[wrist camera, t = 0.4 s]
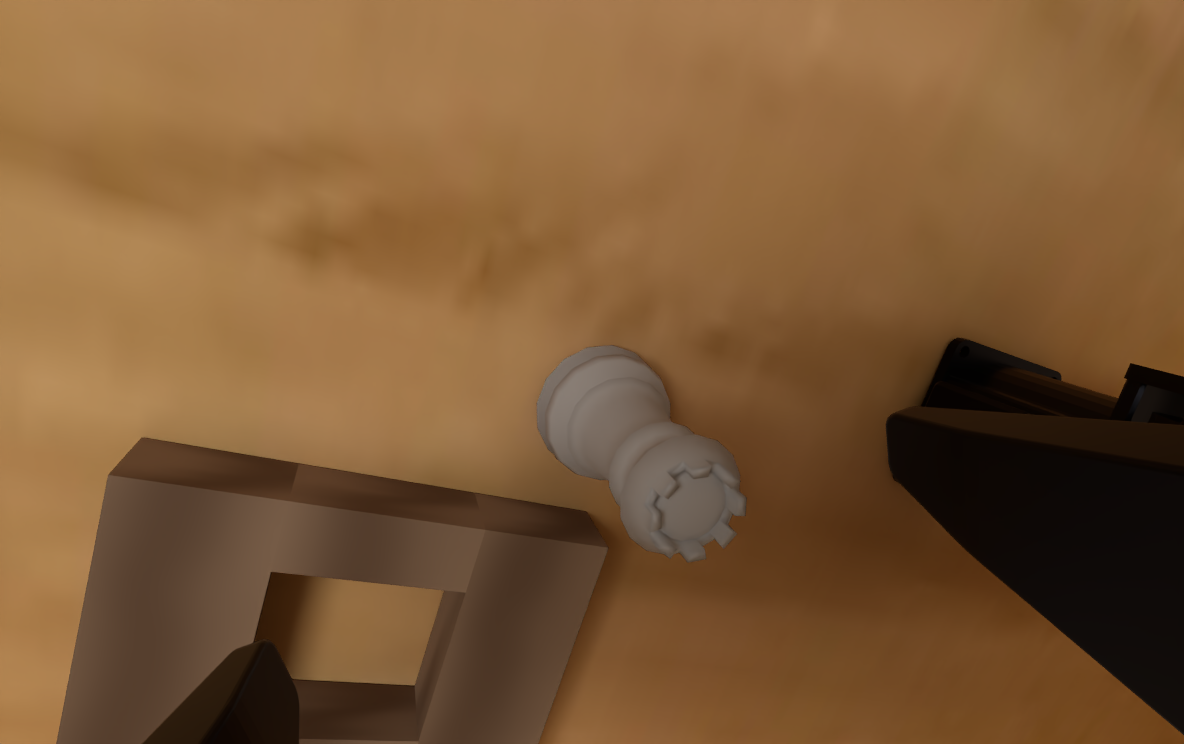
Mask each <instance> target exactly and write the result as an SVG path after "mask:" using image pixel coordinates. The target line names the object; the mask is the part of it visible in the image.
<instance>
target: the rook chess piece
mask: <svg viewBox="0 0 1184 744" xmlns="http://www.w3.org/2000/svg"><path fill="white" fill-rule="evenodd" d="M537 425H538V430H539V432H540V434H541V436H542V438H543V440H544V442H545V444H546V446H547V448H548V450H550V451H551V452H552V453H553V454H554V455H555V457H556V459H558V460H559V461H560V462H561V463H563V464H564V465H565V466H566V467H568V468H569V469H570V470H571V471H573V472H574V473H576V474H578V475H582V476H586V477H590V478H594V479H598V480H608V481H609V488H610V490H611V492H612V494H613V497H614V499H615V501H616V503H617V504H618V505H619V506H620V507H621V520H622V522H623V524H624V526H625V528H626V531H627V533H628V535H629V537H630V538H631V539H632V540H634V541H635V542H636V543H637V544H639V545H640V546H641V547H643V548H644V549H645V550H647V551H651V552H656V553H661V554H665V555H666V556H667V557H668V558H670V559H671V557H672V556H673V554H676V553H680V554H681V555H682V556H683V557H684V559H685V560H686V561H687V562H693V561H698V560H704V559H706V554H705V549H704V548H703V547H702V546H704V545H706V544H707V543H709V542H711V541H713V540H714V539H715V540H716V541H717V542H718V543H719V544H720V546H721V547H722V548H723V549H724V548H725V547H726V546H727V545H728V544H729V542H730V541H731V540H732V539H733V538H734V537H735V536H736V535H737V533H736V532H735V531H734V530H733V529H732V528H731V527H730V526H729V525H728V524H729V521H730V519H731V517H732V515H733V514H734V515H735V516H745V514H746V500H747V498H746V497H745V496H744V495H743V494H742V493H741V492H740V491H739V487H740V482H741V481H740V473H739V471H738V468H737V465H736V462H735V460H734V457H733V455H732V454H731V453H730V452H729V451H728V450H727V449H726V448H725V447H724V446H723V445H722V444H720V443H719V442H718V441H716V440H713V439H710V438H706V437H703V436H700V435H695V434H694V433H693V432H692V431H690V430H689V429H688V428H687V427H686V426H682V425H679V424H676V423H672V421H671V420H670V401H669V399H668V396H667V393H666V391H665V388H664V386H663V383H662V381H661V378H660V377H659V376H658V375H657V374H656V373H655V372H654V371H653V370H652V369H651V368H650V367H649V366H648V365H647V364H646V363H645V362H644V361H643V360H642V359H641V358H640V357H639V356H638V355H637V354H636V353H634V352H631V351H628V350H625V349H622V348H619V347H616V346H613V345H611V346H599V347H587V348H585V349H584V350H582V351H580V352H578V353H576V354H574V355H572V356H570V357H568V358H566V359H564V360H563V361H562V362H561V363H560V364H559V365H558V367H557V368H556V369H555V370H554V371H553V372H552V373H551V374H550V375H549V376H548V378H547V379H546V381H545V383H544V386H543V389H542V391H541V394H540V396H539V399H538V402H537Z"/></svg>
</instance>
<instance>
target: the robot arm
mask: <svg viewBox="0 0 1184 744" xmlns="http://www.w3.org/2000/svg"><path fill="white" fill-rule="evenodd" d="M960 350H961V352H960ZM1124 378H1126V379H1127V380H1126V383H1125V385H1124V387H1123V389H1122V392H1121V394H1120V396H1119V398H1115V397H1112V396H1108V395H1105V394H1102V393H1099V392H1095V391H1092V390H1089V389H1086V388H1082V387H1079V386H1076V385H1073V384H1069V383H1066V382H1063V381H1061V375H1060V373H1059V372H1057V371H1054V370H1051V369H1048V368H1046V367H1043V366H1040V365H1037V364H1034V363H1032V362H1029V361H1026V360H1023V359H1020V358H1018V357H1015V356H1012V355H1009V354H1007V353H1004V352H1001V351H998V350H995V349H993V348H990V347H987V346H984V345H981V344H979V343H976V342H973V341H970V340H967V339H963V338H956V339H954V340H953V341H951V342H950V344H949V346H948V347H947V350H946V352H945V354H944V356H943V359H942V361H941V363H940V366H939V368H938V370H937V372H936V375H935V377H934V379H933V381H932V384H931V386H930V388H929V391H928V393H927V395H926V397H925V400H924V402H923V404H922V406H921V407H917V406H915V407H909V408H906V409H903V410H901V411H898V412H895V413H893V414H891V415H890V416H889V417H888V418H887V421H886V436H887V449H888V462H889V466H890V470H891V472H892V474H893V478H894V480H895V481H896V482H898V483H900V484H901V485H902V486H903V487H904V488H905V489H906V490H907V491H908V492H909V493H910V494H911V495H912V496H913V497H914V498H915V499H916V500H917V501H918V502H919V503H920V504H921V505H922V506H923V507H924V508H925V509H926V510H927V511H928V512H929V513H930V514H931V516H932V517H933V518H934V519H935V520H936V521H937V522H938V523H939V524H940V525H941V526H942V527H943V528H944V529H945V530H946V531H947V532H948V533H949V534H950V535H951V536H952V537H953V538H954V539H955V540H956V541H957V542H958V543H959V544H960V545H961V546H962V547H963V548H964V549H965V550H966V551H967V552H969V553H970V554H971V555H972V556H973V557H974V558H975V559H976V560H978V561H979V562H980V563H981V564H982V565H983V566H985V567H986V568H987V569H988V570H989V571H990V572H992V573H993V574H994V575H995V576H996V577H998V578H999V579H1000V580H1001V581H1002V582H1003V583H1005V584H1006V585H1007V586H1008V587H1009V588H1011V589H1012V590H1013V591H1014V592H1015V593H1016V594H1018V595H1019V596H1020V597H1021V598H1022V599H1024V600H1025V601H1026V602H1027V603H1028V604H1029V605H1031V606H1032V607H1033V608H1034V609H1035V610H1037V611H1038V612H1039V613H1040V614H1041V615H1042V616H1044V617H1045V618H1046V619H1047V620H1048V621H1050V622H1051V623H1052V624H1053V625H1054V626H1055V627H1057V628H1058V629H1059V630H1060V631H1061V632H1063V633H1064V634H1065V635H1066V636H1067V637H1068V638H1070V639H1071V640H1072V641H1073V642H1074V643H1076V644H1077V645H1078V646H1079V647H1080V648H1081V649H1083V650H1084V651H1085V652H1086V653H1087V654H1089V655H1090V656H1091V657H1092V658H1093V659H1094V660H1096V661H1097V662H1098V663H1099V664H1100V665H1102V666H1103V667H1104V668H1105V669H1106V670H1107V671H1109V672H1110V673H1111V674H1112V675H1113V676H1115V677H1116V678H1117V679H1118V680H1119V681H1120V682H1122V683H1123V684H1124V685H1125V686H1126V687H1128V688H1129V689H1130V690H1131V691H1132V692H1133V693H1135V694H1136V695H1137V696H1138V697H1139V698H1141V699H1142V700H1143V701H1144V702H1145V703H1146V704H1148V705H1149V706H1150V707H1151V708H1152V709H1154V710H1155V711H1156V712H1157V713H1158V714H1159V715H1161V716H1162V717H1163V718H1164V719H1165V720H1167V721H1168V722H1169V723H1170V724H1171V725H1172V726H1174V727H1175V728H1176V729H1177V730H1178V731H1180V732H1181V733H1182V734H1183V735H1184V377H1183V376H1179V375H1175V374H1171V373H1167V372H1163V371H1159V370H1155V369H1151V368H1147V367H1143V366H1139V365H1135V364H1131V363H1130V365H1129V368H1128V370H1127V372H1126V374H1125V377H1124ZM299 720H300V704H299V697H298V693H297V689H296V687H295V684H294V682H293V680H292V678H291V676H290V674H289V672H288V670H287V668H286V666H285V664H284V662H283V660H282V658H281V656H280V654H279V652H278V650H277V648H276V647H275V645H274V644H273V643H272V642H271V641H270V640H267V639H263V640H260V641H257V642H254V643H251V644H248V645H246V646H243V647H240V648H237V649H235V650H234V651H232V652H231V653H230V654H229V655H228V656H227V657H226V658H225V659H224V660H223V661H222V662H221V663H220V664H219V665H218V666H217V667H216V668H215V669H214V670H213V671H212V672H211V673H210V674H209V675H208V676H207V677H206V678H205V679H204V680H203V682H202V683H201V684H200V685H199V686H198V687H197V688H196V689H195V690H194V691H193V692H192V693H191V694H190V695H189V696H188V697H187V698H186V699H185V700H184V701H183V702H182V703H181V704H180V705H179V706H178V707H177V708H176V709H175V710H174V711H173V712H172V713H171V714H170V715H169V716H168V717H167V718H166V719H165V720H164V721H163V722H162V723H161V724H160V725H159V727H158V728H157V729H156V730H155V731H154V732H153V733H152V734H151V735H150V736H149V737H148V738H147V739H146V740H145V741H144V742H143V743H142V744H299Z"/></svg>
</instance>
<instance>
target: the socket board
mask: <svg viewBox="0 0 1184 744" xmlns="http://www.w3.org/2000/svg"><path fill="white" fill-rule="evenodd" d="M607 551H608V546H607V545H606V543H605V541H604V540H603V538H602V536H601V535H600V533H599V531H598V530H597V528H596V526H595V525H594V523H593V522H592V520H591V518H590V517H589V515H588V513H587V512H586V511H580V510H574V509H568V508H562V507H556V506H550V505H543V504H537V503H531V502H525V501H519V500H513V499H507V498H501V497H495V496H489V495H483V494H477V493H471V492H465V491H459V490H453V489H447V488H441V487H435V486H429V485H423V484H417V483H411V482H405V481H399V480H393V479H387V478H381V477H375V476H369V475H363V474H357V473H351V472H345V471H339V470H333V469H327V468H321V467H315V466H309V465H303V464H297V463H291V462H285V461H279V460H273V459H267V458H261V457H255V456H249V455H243V454H237V453H231V452H225V451H219V450H213V449H207V448H201V447H195V446H189V445H183V444H177V443H171V442H165V441H159V440H153V439H147V438H141V439H140V440H139V441H138V442H137V443H136V444H135V445H134V447H133V448H132V449H131V450H130V451H129V452H128V453H127V454H126V456H125V457H124V458H123V459H122V460H121V461H120V462H119V463H118V464H117V466H116V467H115V468H114V469H113V470H112V471H111V472H110V473H109V475H108V479H107V484H106V489H105V494H104V499H103V505H102V510H101V515H100V520H99V525H98V530H97V536H96V541H95V546H94V551H93V556H92V562H91V567H90V572H89V577H88V582H87V587H86V593H85V598H84V603H83V608H82V613H81V619H80V624H79V629H78V634H77V639H76V644H75V650H74V655H73V660H72V665H71V670H70V675H69V681H68V686H67V691H66V696H65V701H64V707H63V712H62V717H61V722H60V727H59V732H58V738H57V743H56V744H142V743H143V742H144V741H145V740H146V739H147V738H148V737H149V736H150V735H151V734H152V733H153V732H154V731H155V730H156V729H157V728H158V727H159V725H160V724H161V723H162V722H163V721H164V720H165V719H166V718H167V717H168V716H169V715H170V714H171V713H172V712H173V711H174V710H175V709H176V708H177V707H178V706H179V705H180V704H181V703H182V702H183V701H184V700H185V699H186V698H187V697H188V696H189V695H190V694H191V693H192V692H193V691H194V690H195V689H196V688H197V687H198V686H199V685H200V684H201V683H202V682H203V680H204V679H205V678H206V677H207V676H208V675H209V674H210V673H211V672H212V671H213V670H214V669H215V668H216V667H217V666H218V665H219V664H220V663H221V662H222V661H223V660H224V659H225V658H226V657H227V656H228V655H229V654H230V653H231V652H232V651H234V650H235V649H237V648H240V647H243V646H246V645H248V644H251V643H254V640H255V636H256V632H257V628H258V624H259V620H260V616H261V612H262V608H263V604H264V600H265V596H266V592H267V588H268V584H269V580H270V576H271V572H279V573H288V574H297V575H307V576H316V577H325V578H334V579H344V580H353V581H362V582H371V583H381V584H390V585H399V586H408V587H418V588H427V589H436V590H444V593H443V597H442V600H441V603H440V606H439V609H438V613H437V616H436V619H435V622H434V626H433V629H432V632H431V635H430V638H429V642H428V645H427V648H426V651H425V655H424V658H423V661H422V664H421V667H420V671H419V674H418V677H417V680H416V684H415V686H398V685H379V684H360V683H341V682H322V681H303V680H293V682H294V684H295V687H296V689H297V693H298V697H299V704H300V720H299V744H538V743H539V740H540V738H541V735H542V732H543V729H544V726H545V724H546V721H547V718H548V715H549V713H550V710H551V707H552V704H553V701H554V699H555V696H556V693H557V690H558V687H559V685H560V682H561V679H562V676H563V674H564V671H565V668H566V665H567V662H568V660H569V657H570V654H571V651H572V648H573V646H574V643H575V640H576V637H577V635H578V632H579V629H580V626H581V623H582V621H583V618H584V615H585V612H586V609H587V607H588V604H589V601H590V598H591V596H592V593H593V590H594V587H595V584H596V582H597V579H598V576H599V573H600V570H601V568H602V565H603V562H604V559H605V557H606V554H607Z"/></svg>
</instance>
